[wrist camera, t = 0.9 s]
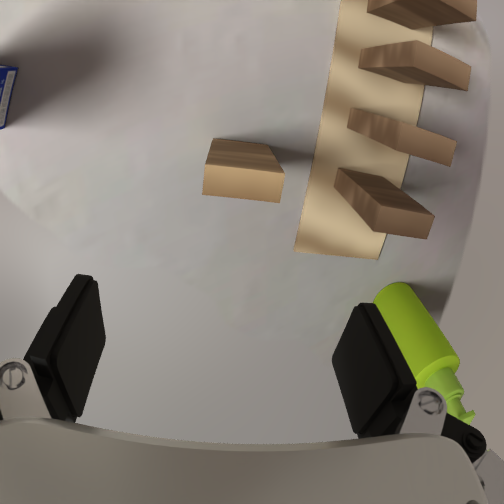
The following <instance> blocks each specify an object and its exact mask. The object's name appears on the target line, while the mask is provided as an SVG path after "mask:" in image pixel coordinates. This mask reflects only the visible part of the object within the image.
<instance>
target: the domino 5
mask: <svg viewBox="0 0 504 504" xmlns="http://www.w3.org/2000/svg"><path fill="white" fill-rule="evenodd" d="M334 188H335V189H336V190H337V191H338V192H339V193H340V194H341V196H342V197H343V198H344V199H345V200H346V201H347V202H348V203H349V204H350V206H351V207H352V208H353V209H354V210H355V211H356V212H357V213H358V215H359V216H360V217H361V218H362V219H363V220H364V221H365V223H366V224H367V225H368V226H369V227H370V228H371V230H372V231H373V232H379V233H386V234H393V235H400V236H407V237H414V238H420V239H427V237H428V234H429V232H430V229H431V226H432V223H433V220H434V217H435V216H434V215H433V214H432V213H430V212H429V211H428V210H427V209H425V208H424V207H423V206H422V205H420V204H419V203H418V202H416V201H415V200H414V199H412V198H411V197H410V196H409V195H407V194H406V193H405V192H403V191H402V190H400V189H399V188H398V187H396V186H395V185H394V184H392V183H391V182H390V181H388V180H387V179H385V178H384V177H382V176H378V175H373V174H368V173H363V172H358V171H353V170H348V169H343V168H338V170H337V174H336V179H335V183H334Z"/></svg>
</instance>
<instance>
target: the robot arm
mask: <svg viewBox="0 0 504 504" xmlns="http://www.w3.org/2000/svg"><path fill="white" fill-rule="evenodd" d="M105 339H106V335H105V329H104V324H103V317H102V311H101V304H100V297H99V289H98V283H97V281H95V280H93V277H92V276H89V275H81V274H77V275H76V276H75V277H74V279H73V280H72V282H71V283H70V285H69V287H68V288H67V290H66V292H65V293H64V295H63V297H62V298H61V300H60V301H59V303H58V305H57V307H53V308H52V309H51V310H50V312H49V314H48V315H47V317H46V318H45V320H44V322H43V324H42V325H41V328H40V329H39V331H38V333H37V334H36V336H35V338H34V340H33V342H32V344H31V345H30V347H29V349H28V351H27V353H26V355H25V357H24V359H23V360H22V359H20V358H10V359H6V360H4V361H2V362H1V363H0V504H504V461H503V460H501V458H500V457H499V456H498V455H496V454H495V453H494V452H493V451H492V450H491V449H489V450H488V451H487V450H486V440H485V438H484V436H483V435H482V434H481V432H480V431H478V430H477V429H475V428H474V427H472V426H470V425H468V424H466V423H465V422H463V421H461V420H459V419H457V418H456V417H454V416H452V415H450V414H449V413H447V403H446V400H445V399H444V397H443V396H442V395H441V394H440V393H439V392H438V391H436V390H435V389H432V388H429V387H423V388H419V389H418V388H417V386H416V384H417V382H416V379H415V377H414V375H413V373H412V371H411V369H410V367H409V366H408V364H407V362H406V360H405V358H404V356H403V354H402V352H401V350H400V348H399V346H398V344H397V342H396V340H395V339H394V337H393V335H392V333H391V331H390V329H389V327H388V326H387V324H386V322H385V320H384V318H383V316H382V315H381V313H380V311H379V309H378V307H377V306H376V304H374V303H360V304H359V305H358V306H355V307H354V309H353V311H352V313H351V316H350V318H349V320H348V323H347V325H346V327H345V329H344V332H343V334H342V336H341V338H340V341H339V343H338V345H337V347H336V349H335V351H334V353H333V356H332V364H333V367H334V370H335V373H336V377H337V380H338V383H339V386H340V390H341V393H342V396H343V399H344V402H345V406H346V409H347V412H348V416H349V419H350V422H351V426H352V429H353V432H354V433H355V434H357V435H358V438H359V439H352V440H341V441H331V442H318V443H299V444H225V443H208V442H195V441H183V440H174V439H164V438H157V437H150V436H143V435H136V434H130V433H124V432H118V431H113V430H106V429H102V428H97V427H91V426H87V425H82V424H78V423H75V422H76V418H77V417H80V416H81V415H82V413H83V410H84V406H85V403H86V400H87V397H88V393H89V390H90V387H91V384H92V381H93V378H94V375H95V372H96V369H97V365H98V363H99V360H100V357H101V354H102V351H103V348H104V346H105Z"/></svg>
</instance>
